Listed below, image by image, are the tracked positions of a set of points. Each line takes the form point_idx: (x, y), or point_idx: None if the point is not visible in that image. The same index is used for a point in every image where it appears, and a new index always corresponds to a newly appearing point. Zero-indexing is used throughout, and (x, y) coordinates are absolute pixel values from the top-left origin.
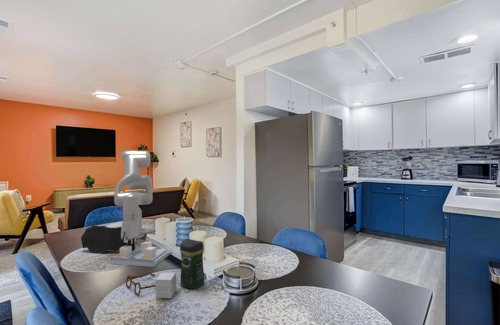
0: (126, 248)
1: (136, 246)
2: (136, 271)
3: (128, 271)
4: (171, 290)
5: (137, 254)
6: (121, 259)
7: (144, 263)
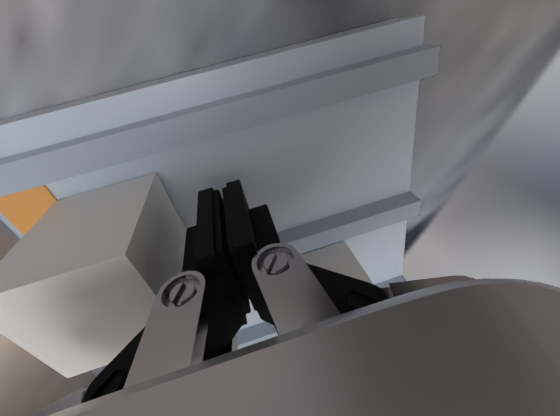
0: (66, 375)
1: (420, 77)
2: (87, 387)
3: (45, 367)
4: None
5: None
6: None
7: None
